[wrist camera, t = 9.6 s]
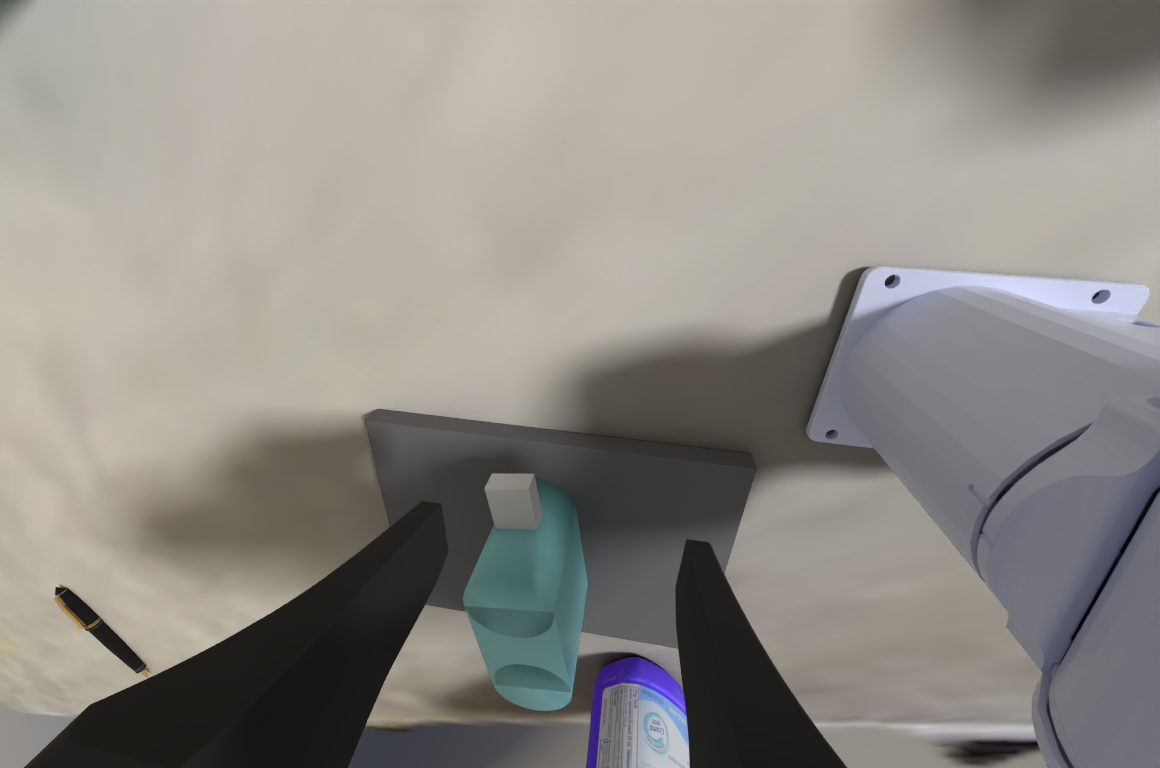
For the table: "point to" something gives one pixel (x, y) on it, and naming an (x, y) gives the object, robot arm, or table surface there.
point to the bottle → (637, 718)
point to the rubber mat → (601, 495)
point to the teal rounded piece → (529, 592)
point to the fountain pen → (97, 628)
